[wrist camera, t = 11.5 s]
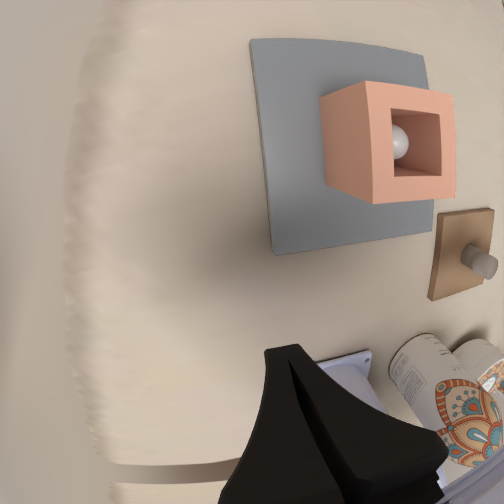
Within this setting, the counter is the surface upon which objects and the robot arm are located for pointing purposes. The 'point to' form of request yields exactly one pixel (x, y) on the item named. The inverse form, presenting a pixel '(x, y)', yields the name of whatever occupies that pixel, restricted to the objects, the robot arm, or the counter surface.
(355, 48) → the board
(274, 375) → the robot arm
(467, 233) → the walnut stand
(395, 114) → the terracotta collar
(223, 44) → the counter surface
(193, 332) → the counter surface
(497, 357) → the cosmetic set
